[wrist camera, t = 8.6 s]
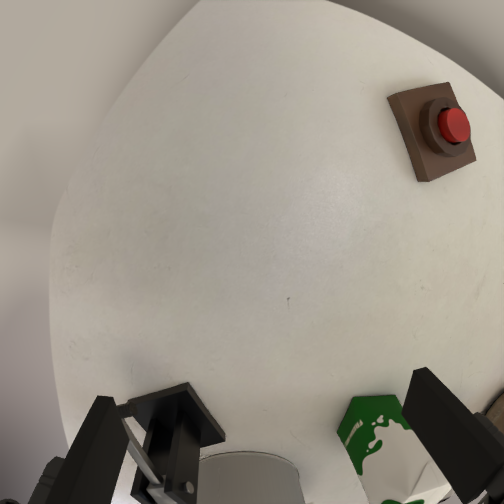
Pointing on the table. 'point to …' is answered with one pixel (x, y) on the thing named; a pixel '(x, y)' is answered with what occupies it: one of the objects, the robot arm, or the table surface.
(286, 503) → the container
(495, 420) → the bowl
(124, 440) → the robot arm
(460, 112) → the red push button
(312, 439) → the table surface
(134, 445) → the lever handle
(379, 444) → the milk carton
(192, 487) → the black lever switch
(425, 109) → the control block
